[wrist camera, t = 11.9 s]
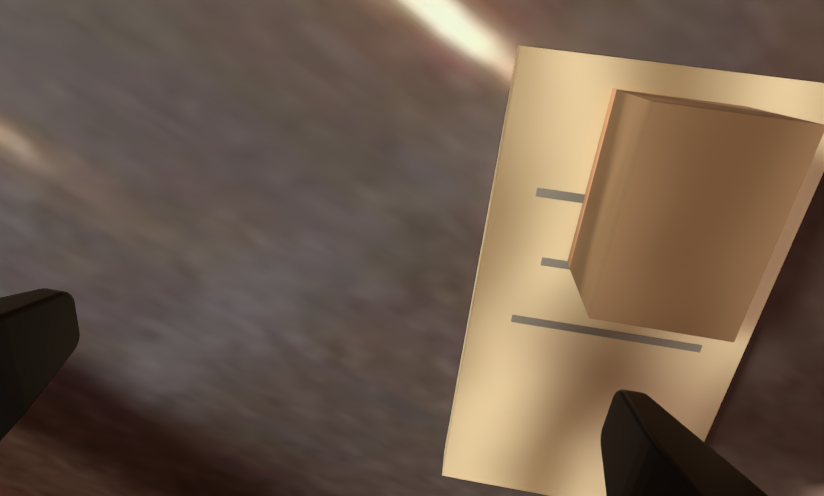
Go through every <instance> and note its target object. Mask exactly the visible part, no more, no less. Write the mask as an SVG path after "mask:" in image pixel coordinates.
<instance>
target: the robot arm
mask: <svg viewBox="0 0 824 496" xmlns="http://www.w3.org/2000/svg"><path fill="white" fill-rule="evenodd" d="M79 336H80V334H79V327H78V321H77V314H76V308H75V302H74V299H73V297H72V296H71V294H69V293H67V292H64V291H58V290H53V289H47V288H46V289H37V290H33V291H28V292H24V293H19V294H15V295H10V296H5V297H1V298H0V441H1V439H2V438H3V437H4V436H5V435H6V434H7V433H8V432H9V431H10V430H11V429H12V427H13V426H14V425H15V424H16V423H17V422H18V420H19V419H20V418H21V417H22V416H23V414H24V413H25V412H26V411H27V409H28V408H29V407H30V406H31V404H32V403H33V402H34V401H35V399H36V398H37V397H38V395H39V394H40V393H41V392H42V390H43V389H44V388H45V387H46V385H47V384H48V383H49V382H50V380H51V379H52V378H53V376H54V375H55V374H56V373H57V371H58V370H59V369H60V368H61V366H62V365H63V364H64V363H65V361H66V360H67V359H68V357H69V356H70V355H71V354H72V352H73V351H74V350H75V348H76V346H77V344H78V341H79ZM600 444H601V453H602V462H603V470H604V479H605V487H606V496H768V495H767V494H766V493H764V492H763V491H762V490H761V489H760V488H758V487H757V486H756V485H755V484H754V483H752V482H751V481H750V480H749V479H748V478H746V477H745V476H744V475H743V474H742V473H740V472H739V471H738V470H737V469H736V468H734V467H733V466H732V465H731V464H730V463H728V462H727V461H726V460H725V459H724V458H722V457H721V456H720V455H719V454H718V453H716V452H715V451H714V450H713V449H712V448H710V447H709V446H708V445H707V444H706V443H704V442H703V441H702V440H701V439H700V438H698V437H697V436H696V435H695V434H694V433H693V432H691V431H690V430H689V429H688V428H687V427H685V426H684V425H683V424H682V423H681V422H679V421H678V420H677V419H676V418H675V417H673V416H672V415H671V414H670V413H669V412H667V411H666V410H665V409H664V408H663V407H661V406H660V405H659V404H658V403H657V402H655V401H654V400H653V399H652V398H651V397H649V396H648V395H647V394H645V393H642V392H637V391H631V390H625V389H620V390H618V391H616V393H615V394H614V396H613V398H612V401H611V404H610V407H609V410H608V413H607V416H606V419H605V421H604V424H603V427H602V431H601V438H600Z"/></svg>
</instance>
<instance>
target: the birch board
mask: <svg viewBox="0 0 824 496" xmlns="http://www.w3.org/2000/svg"><path fill="white" fill-rule="evenodd" d="M613 88H614V89H622V90H629V91H637V92H644V93H651V94H659V95H666V96H674V97H681V98H689V99H696V100H704V101H711V102H718V103H726V104H733V105H741V106H747V107H751V108H755V109H760V110H764V111H768V112H772V113H777V114H781V115H785V116H789V117H794V118H798V119H802V120H807V121H811V122H815V123H819V124H824V83H819V82H811V81H803V80H795V79H787V78H779V77H771V76H763V75H755V74H747V73H739V72H730V71H722V70H714V69H706V68H698V67H690V66H682V65H674V64H666V63H658V62H650V61H641V60H633V59H625V58H617V57H609V56H601V55H593V54H585V53H577V52H569V51H561V50H552V49H544V48H536V47H528V46H520V45H518V48H517V54H516V59H515V65H514V70H513V76H512V81H511V87H510V92H509V98H508V103H507V109H506V114H505V120H504V125H503V131H502V136H501V142H500V147H499V153H498V158H497V164H496V169H495V175H494V180H493V186H492V191H491V197H490V202H489V208H488V213H487V219H486V224H485V230H484V235H483V241H482V246H481V252H480V257H479V263H478V268H477V274H476V279H475V285H474V290H473V296H472V301H471V307H470V312H469V318H468V323H467V329H466V334H465V340H464V345H463V351H462V356H461V362H460V367H459V373H458V378H457V384H456V389H455V395H454V400H453V406H452V411H451V417H450V422H449V428H448V433H447V439H446V444H445V450H444V460H443V472H442V476H448V477H453V478H459V479H464V480H469V481H475V482H480V483H485V484H491V485H496V486H501V487H507V488H512V489H518V490H523V491H528V492H534V493H539V494H544V495H550V496H606V487H605V479H604V470H603V462H602V453H601V444H600V438H601V431H602V427H603V424H604V421H605V419H606V416H607V413H608V410H609V407H610V404H611V401H612V398H613V396H614V394H615V393H616V391H618V390H620V389H625V390H631V391H637V392H642V393H645V394H647V395H648V396H649V397H651V398H652V399H653V400H654V401H655V402H657V403H658V404H659V405H660V406H661V407H663V408H664V409H665V410H666V411H667V412H669V413H670V414H671V415H672V416H673V417H675V418H676V419H677V420H678V421H679V422H681V423H682V424H683V425H684V426H685V427H687V428H688V429H689V430H690V431H691V432H693V433H694V434H695V435H696V436H697V437H698V438H700V439H701V440H702V441H703V442H704V441H705V439H706V436H707V434H708V432H709V430H710V427H711V425H712V423H713V421H714V418H715V416H716V414H717V412H718V409H719V407H720V405H721V403H722V400H723V398H724V396H725V394H726V391H727V389H728V387H729V385H730V382H731V380H732V378H733V376H734V373H735V371H736V369H737V367H738V364H739V362H740V360H741V357H742V355H743V353H744V351H745V348H746V346H747V344H748V342H749V339H750V337H751V335H752V333H753V330H754V328H755V326H756V324H757V321H758V319H759V317H760V315H761V312H762V310H763V308H764V306H765V303H766V301H767V299H768V297H769V294H770V292H771V290H772V288H773V285H774V283H775V281H776V278H777V276H778V274H779V272H780V269H781V267H782V265H783V263H784V260H785V258H786V256H787V254H788V251H789V249H790V247H791V245H792V242H793V240H794V238H795V236H796V233H797V231H798V229H799V227H800V224H801V222H802V220H803V218H804V215H805V213H806V211H807V209H808V206H809V204H810V202H811V200H812V197H813V195H814V193H815V190H816V188H817V186H818V184H819V181H820V179H821V177H822V175H823V172H824V134H823V136H822V138H821V141H820V143H819V145H818V148H817V150H816V152H815V155H814V157H813V159H812V162H811V164H810V166H809V169H808V171H807V173H806V176H805V178H804V180H803V183H802V185H801V187H800V190H799V192H798V194H797V197H796V199H795V201H794V204H793V206H792V208H791V211H790V213H789V215H788V218H787V220H786V222H785V225H784V227H783V229H782V232H781V234H780V236H779V239H778V241H777V243H776V246H775V248H774V250H773V253H772V255H771V257H770V260H769V262H768V264H767V267H766V269H765V271H764V274H763V276H762V278H761V281H760V283H759V285H758V288H757V290H756V292H755V295H754V297H753V299H752V302H751V304H750V306H749V309H748V311H747V313H746V316H745V318H744V320H743V323H742V325H741V327H740V330H739V332H738V334H737V337H736V339H735V341H734V342H729V341H723V340H717V339H711V338H705V337H699V336H693V335H686V334H680V333H674V332H668V331H662V330H656V329H650V328H644V327H638V326H632V325H626V324H620V323H614V322H608V321H602V320H596V319H590V318H589V317H588V314H587V312H586V309H585V307H584V304H583V302H582V299H581V296H580V294H579V291H578V289H577V286H576V284H575V281H574V279H573V276H572V274H571V271H570V269H569V266H568V264H567V261H568V257H569V254H570V250H571V246H572V242H573V238H574V234H575V231H576V227H577V223H578V219H579V215H580V211H581V208H582V204H583V200H584V196H585V192H586V189H587V185H588V181H589V177H590V173H591V169H592V166H593V162H594V158H595V154H596V150H597V146H598V143H599V139H600V135H601V131H602V127H603V124H604V120H605V116H606V112H607V108H608V104H609V101H610V97H611V93H612V89H613Z"/></svg>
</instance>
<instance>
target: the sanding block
mask: <svg viewBox="0 0 824 496" xmlns="http://www.w3.org/2000/svg"><path fill="white" fill-rule="evenodd" d="M823 134H824V124H819V123H815V122H811V121H807V120H802V119H798V118H794V117H789V116H785V115H781V114H777V113H772V112H768V111H764V110H760V109H755V108H751V107H747V106H741V105H733V104H726V103H718V102H711V101H704V100H696V99H689V98H681V97H674V96H666V95H659V94H651V93H644V92H637V91H629V90H622V89H614V88H613V89H612V93H611V97H610V101H609V104H608V108H607V112H606V116H605V120H604V124H603V127H602V131H601V135H600V139H599V143H598V146H597V150H596V154H595V158H594V162H593V166H592V169H591V173H590V177H589V181H588V185H587V189H586V192H585V196H584V200H583V204H582V208H581V211H580V215H579V219H578V223H577V227H576V231H575V234H574V238H573V242H572V246H571V250H570V254H569V257H568V261H567V264H568V266H569V269H570V271H571V274H572V276H573V279H574V281H575V284H576V286H577V289H578V291H579V294H580V296H581V299H582V302H583V304H584V307H585V309H586V312H587V314H588V317H589V318H590V319H596V320H602V321H608V322H614V323H620V324H626V325H632V326H638V327H644V328H650V329H656V330H662V331H668V332H674V333H680V334H686V335H693V336H699V337H705V338H711V339H717V340H723V341H729V342H734V341H735V339H736V337H737V334H738V332H739V330H740V327H741V325H742V323H743V320H744V318H745V316H746V313H747V311H748V309H749V306H750V304H751V302H752V299H753V297H754V295H755V292H756V290H757V288H758V285H759V283H760V281H761V278H762V276H763V274H764V271H765V269H766V267H767V264H768V262H769V260H770V257H771V255H772V253H773V250H774V248H775V246H776V243H777V241H778V239H779V236H780V234H781V232H782V229H783V227H784V225H785V222H786V220H787V218H788V215H789V213H790V211H791V208H792V206H793V204H794V201H795V199H796V197H797V194H798V192H799V190H800V187H801V185H802V183H803V180H804V178H805V176H806V173H807V171H808V169H809V166H810V164H811V162H812V159H813V157H814V155H815V152H816V150H817V148H818V145H819V143H820V141H821V138H822V136H823Z"/></svg>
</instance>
